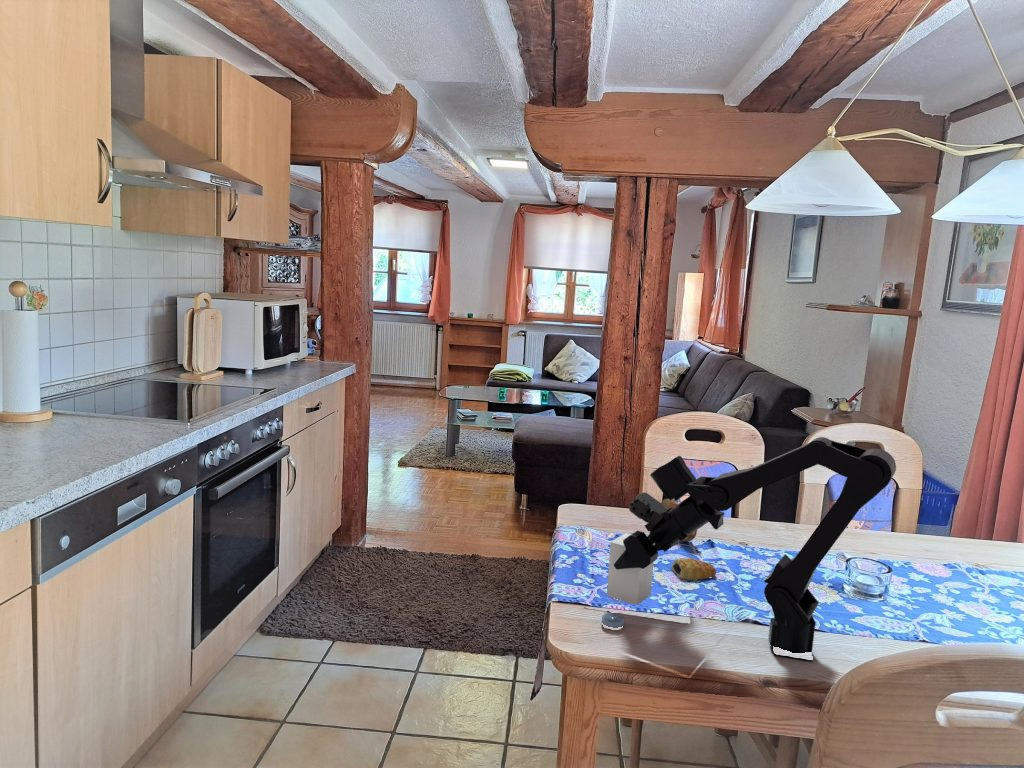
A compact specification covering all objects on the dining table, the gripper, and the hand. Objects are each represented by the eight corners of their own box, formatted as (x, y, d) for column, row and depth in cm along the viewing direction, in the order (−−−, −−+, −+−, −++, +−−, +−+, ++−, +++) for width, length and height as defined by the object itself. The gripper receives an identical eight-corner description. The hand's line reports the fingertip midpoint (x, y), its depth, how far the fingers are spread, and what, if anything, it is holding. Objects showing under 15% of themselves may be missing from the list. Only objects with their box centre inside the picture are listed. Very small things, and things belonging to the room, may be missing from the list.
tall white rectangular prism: (650, 596, 144) (655, 541, 142) (636, 607, 138) (641, 550, 137) (620, 586, 147) (625, 533, 146) (606, 597, 142) (610, 542, 140)
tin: (656, 525, 187) (659, 494, 186) (667, 525, 188) (669, 493, 187) (686, 547, 173) (689, 513, 172) (698, 546, 174) (701, 512, 173)
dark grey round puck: (624, 624, 132) (624, 614, 132) (622, 634, 129) (623, 624, 128) (602, 620, 133) (603, 611, 133) (600, 630, 129) (600, 620, 129)
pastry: (706, 568, 161) (708, 552, 160) (722, 581, 154) (723, 564, 154) (667, 571, 159) (669, 554, 158) (682, 584, 152) (683, 567, 151)
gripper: (676, 474, 145) (622, 514, 152) (637, 494, 129) (579, 538, 137) (710, 520, 142) (653, 559, 149) (675, 547, 126) (613, 589, 134)
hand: (625, 559), depth 143 cm, fingers open, 9 cm apart
